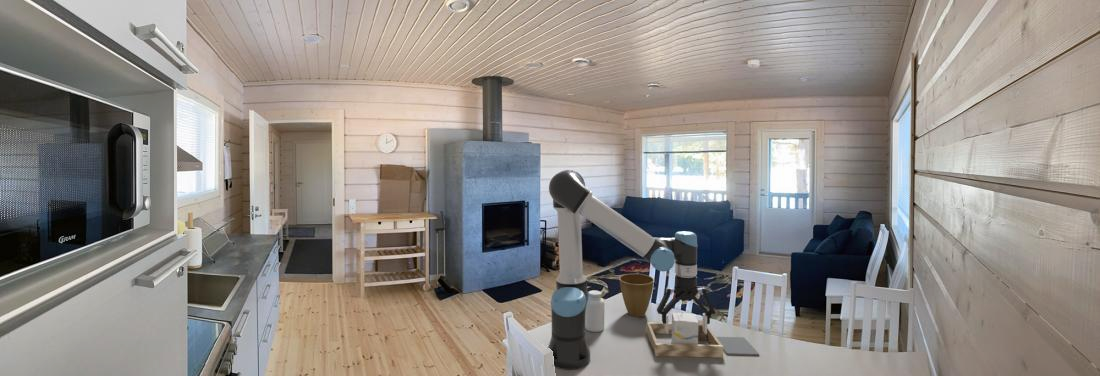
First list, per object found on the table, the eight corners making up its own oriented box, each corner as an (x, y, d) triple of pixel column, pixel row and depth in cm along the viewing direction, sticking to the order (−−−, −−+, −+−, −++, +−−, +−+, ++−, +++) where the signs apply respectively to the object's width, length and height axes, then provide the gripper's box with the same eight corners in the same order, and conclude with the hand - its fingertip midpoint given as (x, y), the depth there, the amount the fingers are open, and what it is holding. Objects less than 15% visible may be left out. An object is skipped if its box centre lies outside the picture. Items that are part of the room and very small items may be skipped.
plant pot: (618, 307, 188) (618, 273, 187) (650, 308, 187) (651, 273, 185) (620, 320, 173) (620, 283, 172) (656, 321, 172) (656, 284, 170)
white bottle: (607, 326, 167) (607, 291, 165) (599, 334, 160) (599, 297, 159) (590, 322, 171) (590, 287, 170) (581, 329, 164) (581, 293, 163)
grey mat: (726, 354, 143) (726, 353, 143) (714, 338, 156) (714, 336, 156) (759, 355, 142) (759, 354, 142) (744, 338, 155) (744, 337, 155)
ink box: (698, 354, 143) (699, 322, 142) (673, 352, 145) (673, 320, 144) (694, 343, 152) (695, 313, 151) (671, 341, 153) (671, 311, 152)
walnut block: (694, 340, 154) (694, 325, 154) (690, 335, 159) (691, 320, 158) (706, 340, 154) (706, 325, 153) (702, 335, 158) (703, 320, 158)
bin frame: (655, 355, 143) (655, 344, 142) (646, 332, 161) (646, 322, 161) (723, 357, 141) (723, 346, 141) (705, 333, 160) (706, 323, 159)
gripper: (652, 278, 143) (652, 336, 145) (725, 278, 141) (724, 337, 143) (648, 271, 151) (649, 327, 152) (717, 271, 149) (717, 327, 150)
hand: (685, 332), depth 148 cm, fingers open, 13 cm apart
